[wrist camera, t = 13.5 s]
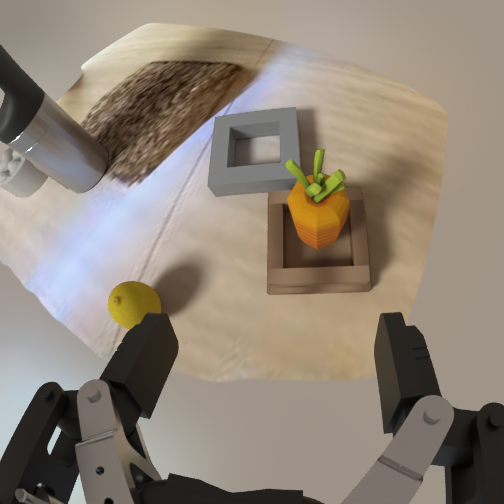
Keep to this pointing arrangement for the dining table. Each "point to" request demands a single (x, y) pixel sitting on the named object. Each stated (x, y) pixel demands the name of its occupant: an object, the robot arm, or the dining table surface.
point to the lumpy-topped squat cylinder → (19, 174)
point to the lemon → (132, 303)
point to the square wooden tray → (317, 252)
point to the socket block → (253, 176)
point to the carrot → (318, 203)
